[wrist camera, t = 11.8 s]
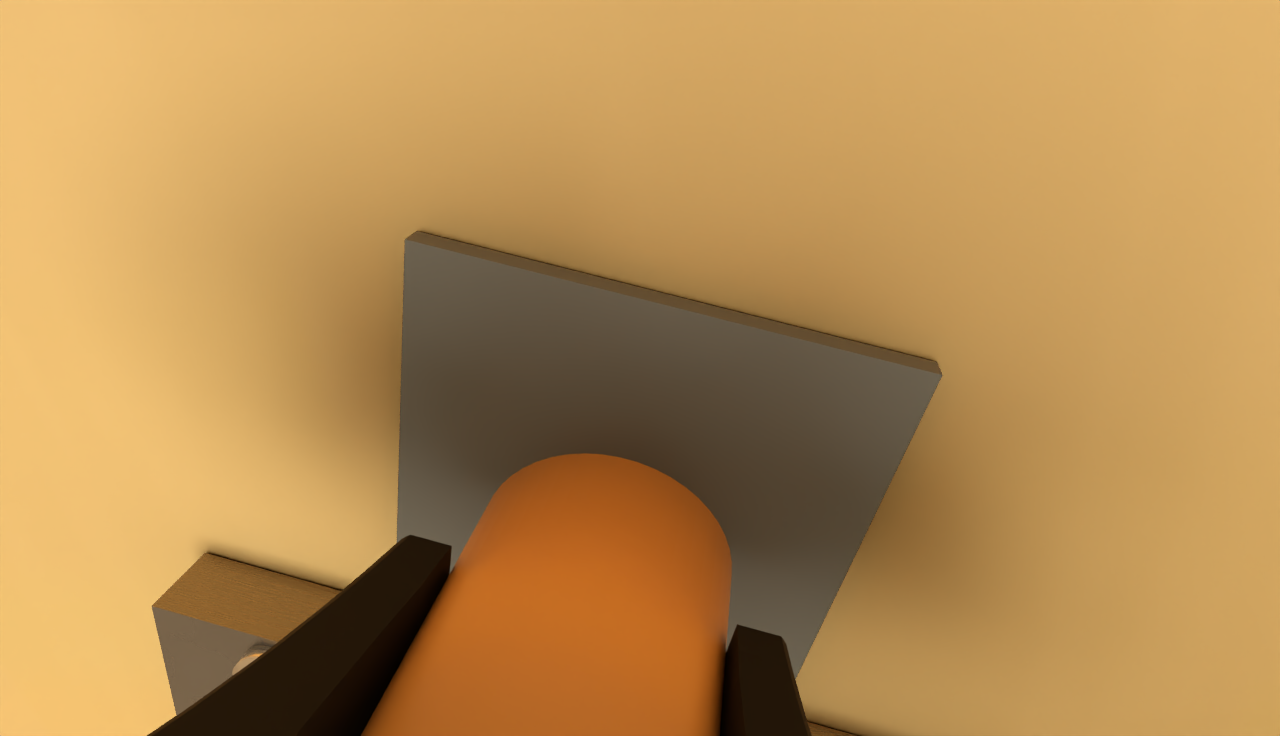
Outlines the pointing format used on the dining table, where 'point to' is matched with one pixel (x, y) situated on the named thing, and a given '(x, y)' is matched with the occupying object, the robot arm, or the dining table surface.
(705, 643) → the cap
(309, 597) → the panel
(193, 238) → the dining table surface
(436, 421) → the mat
